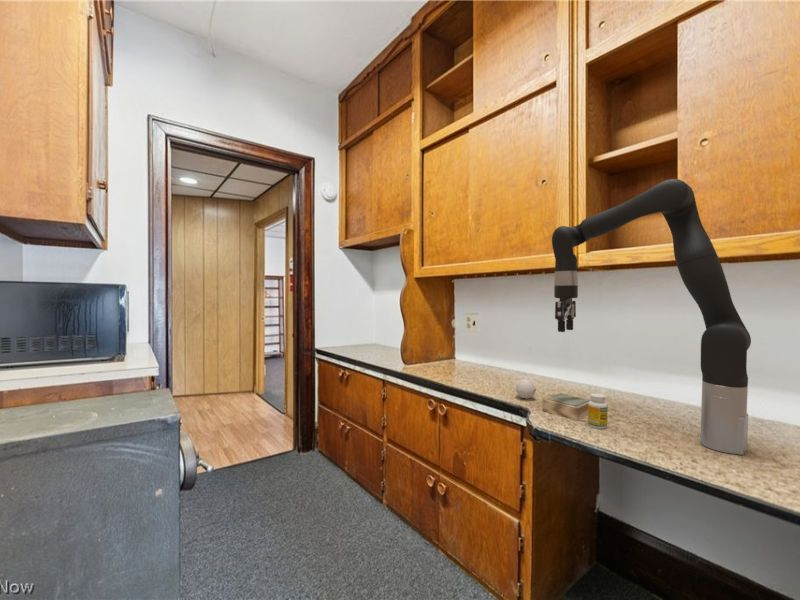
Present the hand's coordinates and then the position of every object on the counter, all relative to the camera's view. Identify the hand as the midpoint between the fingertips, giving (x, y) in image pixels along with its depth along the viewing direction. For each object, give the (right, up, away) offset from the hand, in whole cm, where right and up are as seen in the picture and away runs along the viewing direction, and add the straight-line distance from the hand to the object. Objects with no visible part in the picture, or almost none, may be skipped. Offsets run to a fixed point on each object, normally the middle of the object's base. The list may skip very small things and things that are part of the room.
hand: (565, 330), depth 132 cm
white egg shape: (-9, -27, +14) cm, 32 cm away
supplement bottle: (+3, -28, -16) cm, 32 cm away
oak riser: (0, -28, -3) cm, 28 cm away
